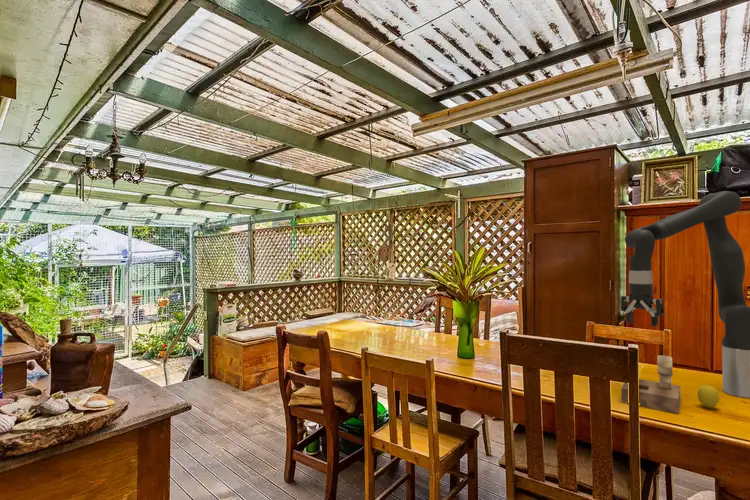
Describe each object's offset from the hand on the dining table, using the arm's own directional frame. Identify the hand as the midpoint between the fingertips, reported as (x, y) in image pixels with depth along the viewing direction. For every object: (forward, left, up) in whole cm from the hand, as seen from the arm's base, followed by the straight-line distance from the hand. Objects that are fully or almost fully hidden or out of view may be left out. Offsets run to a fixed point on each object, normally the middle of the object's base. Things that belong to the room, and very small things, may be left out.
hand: (641, 324), depth 147 cm
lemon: (-19, +5, -26) cm, 32 cm away
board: (-3, +10, -25) cm, 27 cm away
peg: (-7, +8, -20) cm, 23 cm away
